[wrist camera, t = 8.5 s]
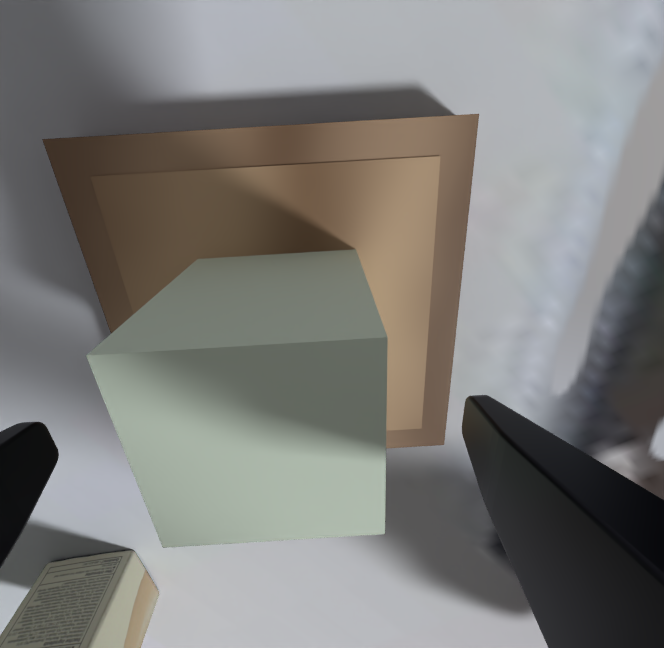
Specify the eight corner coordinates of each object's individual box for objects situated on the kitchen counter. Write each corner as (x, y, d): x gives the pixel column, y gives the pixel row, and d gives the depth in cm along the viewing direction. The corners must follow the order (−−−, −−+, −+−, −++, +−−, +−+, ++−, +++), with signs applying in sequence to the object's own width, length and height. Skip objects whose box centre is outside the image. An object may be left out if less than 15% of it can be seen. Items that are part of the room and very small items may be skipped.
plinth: (460, 118, 11) (479, 113, 10) (433, 420, 16) (444, 445, 15) (75, 140, 11) (41, 139, 10) (170, 436, 16) (156, 463, 15)
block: (356, 249, 11) (387, 337, 6) (359, 381, 14) (384, 534, 8) (197, 259, 11) (85, 355, 6) (226, 389, 14) (162, 548, 8)
